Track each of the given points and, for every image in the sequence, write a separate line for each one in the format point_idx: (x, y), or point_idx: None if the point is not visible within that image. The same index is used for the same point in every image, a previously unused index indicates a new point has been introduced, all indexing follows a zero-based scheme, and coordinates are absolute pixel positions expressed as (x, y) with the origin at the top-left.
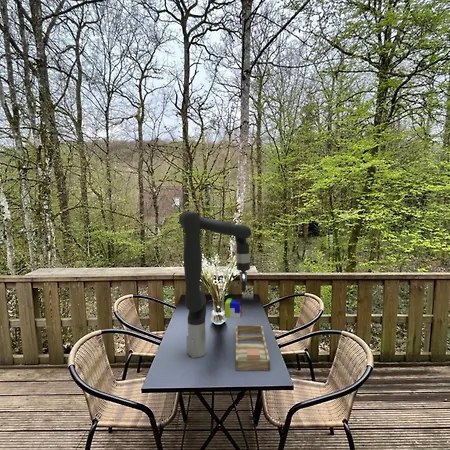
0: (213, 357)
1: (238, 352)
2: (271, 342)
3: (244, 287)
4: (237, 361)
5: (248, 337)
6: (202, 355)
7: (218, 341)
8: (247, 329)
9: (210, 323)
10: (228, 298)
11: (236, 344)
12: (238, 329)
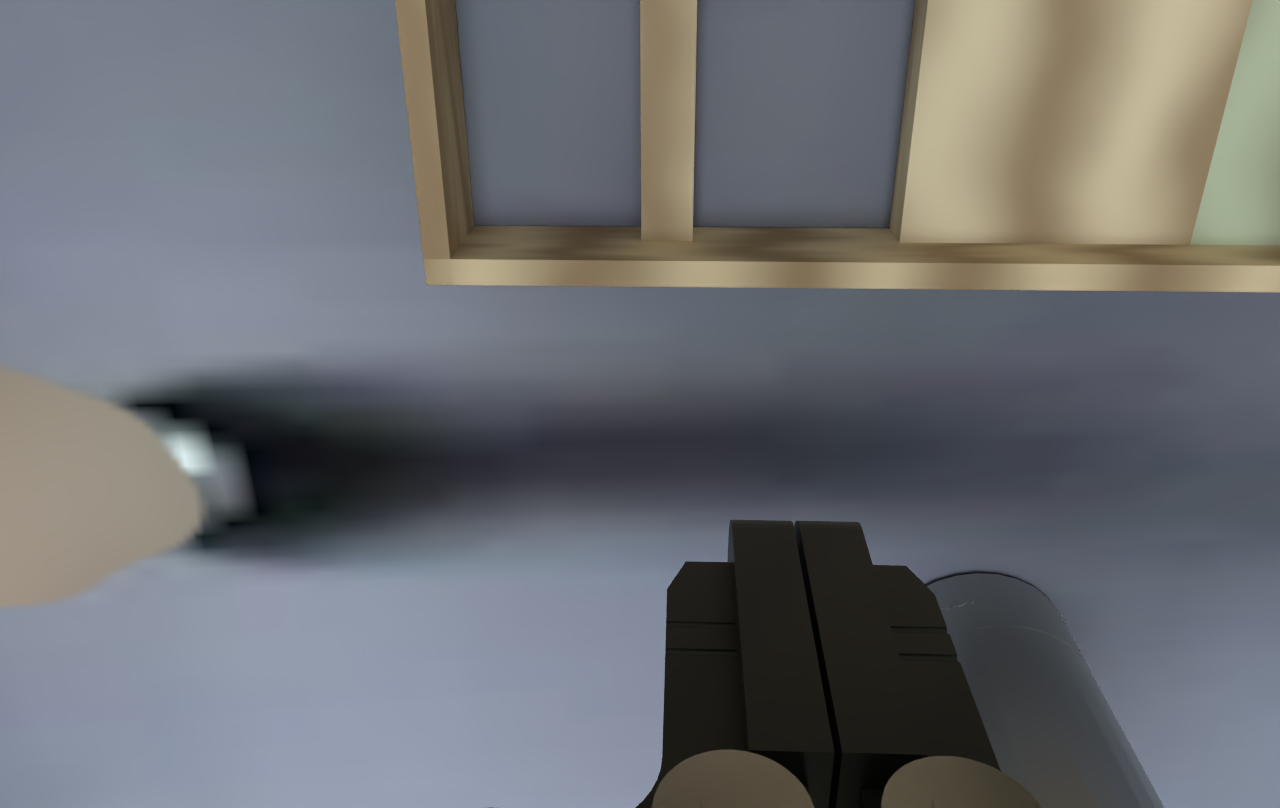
0: (1088, 496)
1: (1146, 236)
2: None
3: (974, 727)
4: None
5: (694, 73)
6: (1052, 605)
7: (715, 460)
8: (447, 81)
9: (217, 569)
10: None
11: (1072, 281)
12: (460, 227)
